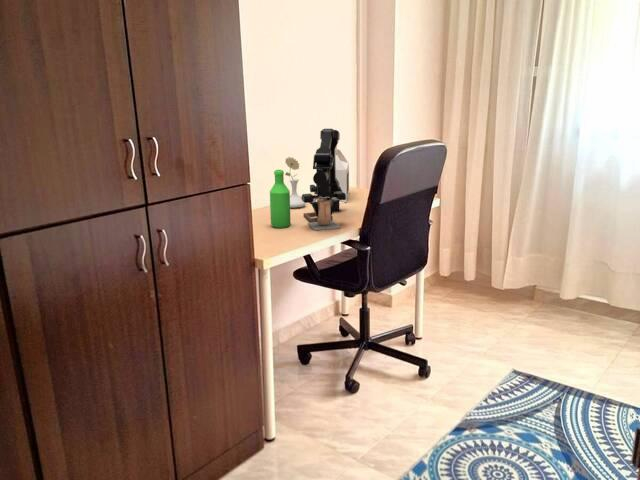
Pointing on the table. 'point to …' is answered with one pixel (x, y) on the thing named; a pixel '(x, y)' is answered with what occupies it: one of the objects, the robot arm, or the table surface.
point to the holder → (309, 215)
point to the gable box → (342, 172)
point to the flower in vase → (294, 184)
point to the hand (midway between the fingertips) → (323, 216)
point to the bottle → (280, 202)
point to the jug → (324, 211)
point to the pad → (324, 226)
